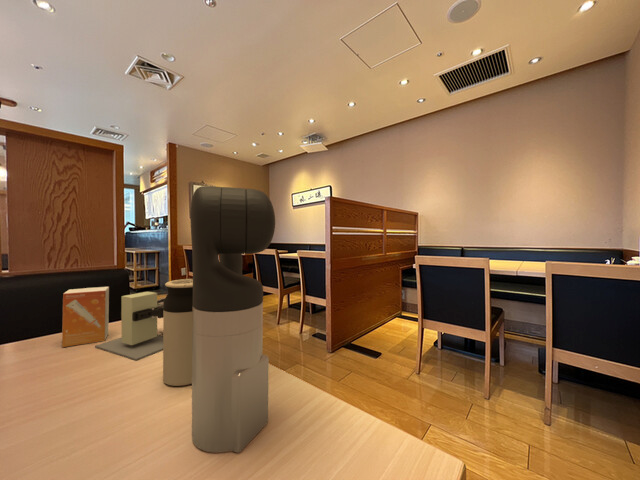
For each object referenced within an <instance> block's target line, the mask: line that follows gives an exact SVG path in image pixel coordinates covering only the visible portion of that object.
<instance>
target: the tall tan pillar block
mask: <svg viewBox="0 0 640 480" xmlns="http://www.w3.org/2000/svg"><path fill="white" fill-rule="evenodd" d="M157 300H158V292H154V291H153V292H152V291H143V292H138V293H133V294H126V295H122V296H121V310H122V318H121V338H122V343H125V344H129V345H134V344H137V343H140V342H143V341H146V340H149V339H151V338H154V337H157V335H158V317H155V318H147V319H143V320H139V321H133V320H132V314H133V312H135V311H140V310H144V309H148V308H151V307H155V306H157Z"/></svg>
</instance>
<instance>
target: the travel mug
mask: <svg viewBox="0 0 640 480" xmlns="http://www.w3.org/2000/svg"><path fill="white" fill-rule="evenodd" d="M164 285H165V287H166V289H167V294H166V296H165V297H164V298H165V299H164V308H163V318H162V319H163V320H162V323H163V324H162V326H163V329H162V331H163V333H162V336H163V350H162V354H163V355H162V368H163V369H162V370H163V371H162V382H163V383H164V384H165V385H166V384H167V385H168V386H174V387H179V386H188V385H192V313H193V278H184V279H175V280H170V281H167V282H166V283H164Z"/></svg>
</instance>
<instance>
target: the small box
mask: <svg viewBox="0 0 640 480" xmlns="http://www.w3.org/2000/svg"><path fill="white" fill-rule="evenodd" d="M109 300H110V286H98V287H86V288H85V287H83V288H73V289H72V288H71V289H68V290H67V291H65V292H63V296H62V329H61V333H62V334H61V335H62V336H61V337H62V339H61V340H62V341H61V348H66V347H73V346H80V345H85V344H92V343H100V342H101V343H102V342H105V341H106V340H107V337H108V335H109V315H110V314H109V313H110V311H109V310H110V308H109V307H110V306H109V305H110V301H109Z"/></svg>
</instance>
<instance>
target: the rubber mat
mask: <svg viewBox="0 0 640 480" xmlns="http://www.w3.org/2000/svg"><path fill="white" fill-rule="evenodd" d="M94 348H96V349H99V350H101V351H102V350H103V351H104V352H108V353H112V354H114V355H118V356H120V357H124V358H127V359H130V360H133V361H134V362H135V361H136V362H137V361H139V360H142V359H144V358H147V357H149V356H153V355H154V354H157V353H159V352H163V335H161V334H157V337H154V338H151V339H149V340H146V341H143V342H140V343H137V344H134V345H129V344H125V343H122V337H119V338H115V339H112V340H109V341H107V342H105V341H104V342H101V343H99V344H96V345H94Z"/></svg>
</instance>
